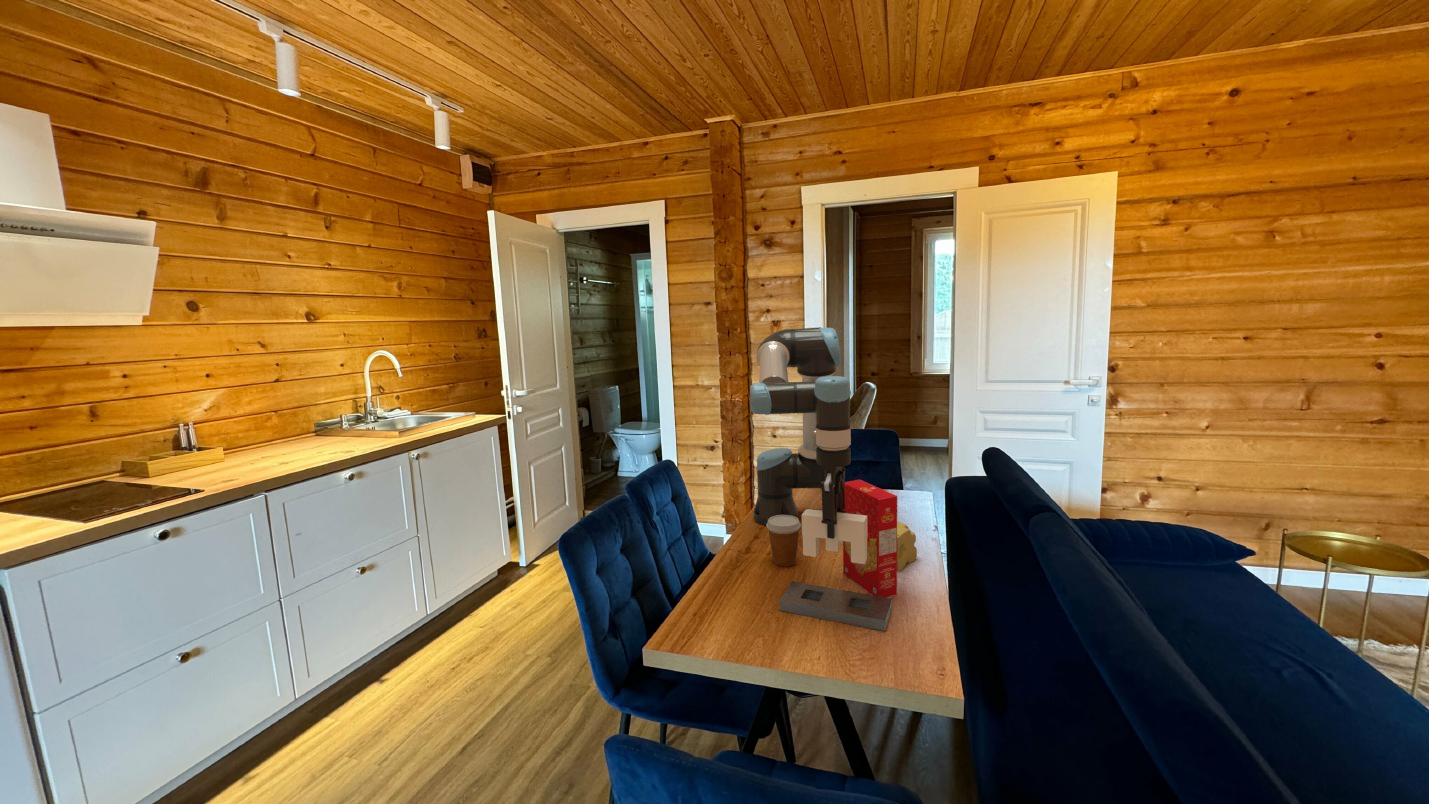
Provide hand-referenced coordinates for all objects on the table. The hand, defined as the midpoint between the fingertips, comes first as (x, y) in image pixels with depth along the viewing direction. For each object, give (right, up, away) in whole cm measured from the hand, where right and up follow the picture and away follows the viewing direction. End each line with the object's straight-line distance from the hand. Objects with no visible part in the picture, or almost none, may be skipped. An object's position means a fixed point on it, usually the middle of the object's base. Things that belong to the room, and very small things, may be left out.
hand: (834, 546), depth 126 cm
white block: (0, -3, 0) cm, 3 cm away
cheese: (+21, -11, +26) cm, 35 cm away
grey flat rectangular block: (+1, -16, +3) cm, 16 cm away
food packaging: (+12, -13, +14) cm, 23 cm away
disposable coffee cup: (-8, -12, +29) cm, 32 cm away
